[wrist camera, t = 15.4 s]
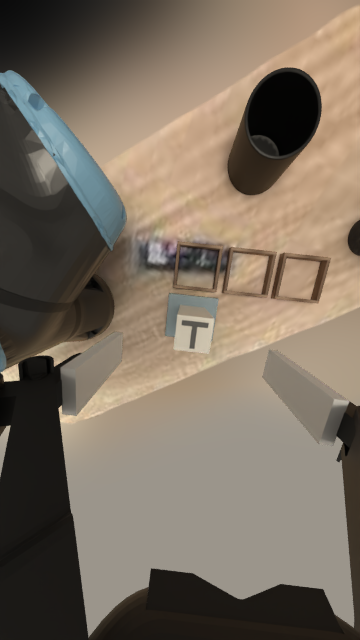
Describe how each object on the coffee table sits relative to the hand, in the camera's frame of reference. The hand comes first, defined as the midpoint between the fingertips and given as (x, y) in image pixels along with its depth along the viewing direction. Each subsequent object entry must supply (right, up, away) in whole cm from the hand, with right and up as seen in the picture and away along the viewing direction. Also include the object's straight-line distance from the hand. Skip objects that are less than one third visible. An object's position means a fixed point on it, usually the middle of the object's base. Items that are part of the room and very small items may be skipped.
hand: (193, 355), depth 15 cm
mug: (+13, +31, +15) cm, 37 cm away
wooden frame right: (+22, +11, +18) cm, 31 cm away
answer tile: (+1, +4, +21) cm, 21 cm away
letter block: (+1, +4, +20) cm, 20 cm away
